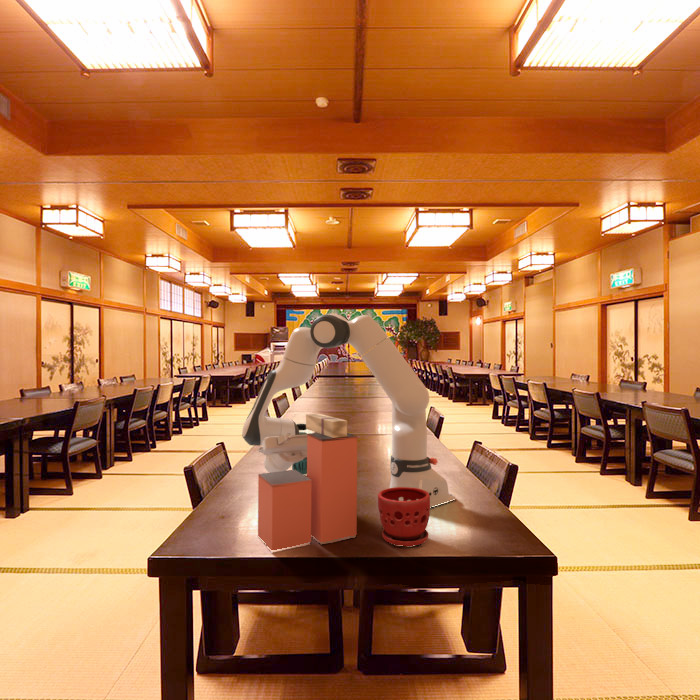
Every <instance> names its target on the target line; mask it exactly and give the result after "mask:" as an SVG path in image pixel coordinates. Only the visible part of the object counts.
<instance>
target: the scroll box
mask: <svg viewBox="0 0 700 700" xmlns="http://www.w3.org/2000/svg"><path fill="white" fill-rule="evenodd" d="M305 424H306V429H307V431H308V430H309V431H311V432H313V433H314V432H317V433H320V434H322V435H326V436H329V437H332V438H336V437H347V433H348V420H346V419H342V418H338V417H334V416H331V415H327V414H322V413H310V414H305Z"/></svg>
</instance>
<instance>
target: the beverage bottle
mask: <svg viewBox="0 0 700 700" xmlns="http://www.w3.org/2000/svg"><path fill="white" fill-rule="evenodd" d="M296 425H297V427H298V429H299V434H300V435H304V434H308V433H307V432H305V431H306V430H307V431H308V429H306V423H296ZM291 470H296V471H298V472H300V473H301V474H303V475H304V476H305V475H307V459H305V460H301V461H299V462H297V463H294V464H293V465H292V466H291Z"/></svg>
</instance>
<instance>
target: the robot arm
mask: <svg viewBox="0 0 700 700" xmlns="http://www.w3.org/2000/svg"><path fill="white" fill-rule="evenodd" d="M346 344H349V345H350V346H352V347H353V349H354V350H355V351H356V352H357V353H358V355H359V357H360V358H361V359H362V361H363V362H364V364H365V365H366V366H367V368H368V369H369V371H370V372H371V373H372V375H373V377H374V378H375V379H376V381H377V382H378V384H379V385H380V387H381V388H382V390H383V391H384V392H385V394H386V395H387V397H388V398H389V399H390V401H391V428H392V429H391V432H392V433H391V434H392V435H391V438H392V441H391V456H390V473H391V474H390V482H389V488H395V487H411V488H418V489H422V490H425V491H426V492H428V493H429V495H430V507H432V506H435V505H438V504H441V503H444V502H447V501H450V500H453V499H456V500H457V497H456V496H455V495H454V494H453V493H452V492H450V491H449V486H448V485H449V484H448V481H447V480H446V479H445V478H444V477H443V476H442V475H441V474H440V473H438V471H436V470H434V468H432V465H434V466H435V465H436V466H437V464H438V463H439V461H438V459H437V458H434V457H429V456H428V430H427V428H428V427H427V415H426V414H427V413H426V412H427V410H426V409H427V408H428V406H429V403H430V393H429V391H428V389H427V387H426V386H425V384H424V383H423V382H422V380H421V379H420V378H419V376H418V375H417V373H416V372H415V371H414V369H413V368H412V367H411V365H410V364H409V363H408V362H407V360H406V359H405V358H404V356H403V355H402V354H401V352H400V351H399V349H398V348H397V347H396V345H395V344H394V343H393V341H392V339H391V338H390V337H389V335H388V334H387V333H386V331H385V330H384V329H383V328H382V327H381V326H380V325H379V324H378V323H377V321H376V320H374V319H373V318H372V317H371V316H369V315H367V314H362V315H358V316H356V317H355V318H353V319H351V320H350V319H349V318H348V317H346V316H344V315H343V314H339V313H327V314H322V315H321V314H320V315H318V316H317V317H316V318H315V319H314V320H313V322H312V323H311V325H310V327H307V326H306V327H305V326H301V327H300V326H299V327H297V328H294V329H293V330H292V333H291V334H290V337H289V339H288V341H287V343H286V347H285V349H284V352H283V357H282V360H281V362H280V363H279V365H277V367H276V368H275V369H272V370H269V372H268V374H267V376H266V377H265V379H264V382H263V384H262V386H261V387H260V391H259V392H258V394H257V397H256V399H255V401H254V403H253V406H252V408H251V410H250V412H249V413H248V416H247V418H246V419H245V422H244V424H243V426H242V432H241V433H242V434H241V435H242V439H244V441H245V442H246V443H247V445H249V446H260V447H258V450H257V451H258V453H261V454H263V455H264V456H265V457H264V460H263V466H264V469H265V470H266V471H267V473H271V472H279V471H287V470H290V468H292V465H293V464H294V463H297V462H299V461H301V460H305V459H307V434H308V433H307V434H304V435H300V434H299V432H300V430H299V429H298V427H297V425H296V424H297V423H296V422H295V421H294V419H289V418H282V417H273V416H266V412H267V411H268V408H269V406H270V403H271V401H272V399H273V397H274V395H276V394H277V393H279V392H281V391H284V390H287V389H294V388H298V387H300V386H303V385H305V384H306V383H308V382H309V381H310V380H311V379H312V377H313V375H314V372H315V368H316V364H317V359H318V358H319V353H320V351H321V350H322V349H334V348H339V347H341V346H343V345H346ZM313 433H317V432H314V431H313ZM416 500H418V499H416ZM399 501H403V497H400V498H399ZM407 501H411V500H407Z"/></svg>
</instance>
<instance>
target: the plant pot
mask: <svg viewBox="0 0 700 700" xmlns="http://www.w3.org/2000/svg"><path fill="white" fill-rule="evenodd" d="M400 497H403V501H399V498H400ZM416 499H418V500H416ZM407 500H411V501H407ZM377 504H378V505H377V507H378V512H379V519H380V523H381V525H382V528H383V530H382V532H381V534H382V535H381V536H382V538H383V539H384V540H385V542H387V543H388V542H389V544H390V543H392V544H395V545H403V546H413V545H419V544H421V545H423V544H424V543H426V542H427V541H428V539H429V532H428V530H427V527H428V524H429V519H430V513H431V509H430V495H429V493H428V492H426V491H425V490H422V489H418V488H411V487H395V488H390V487H389V488H384V489H382V490H381V491H379V492H378V494H377ZM422 543H423V544H422ZM392 544H391V545H392ZM419 546H420V545H419Z"/></svg>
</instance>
